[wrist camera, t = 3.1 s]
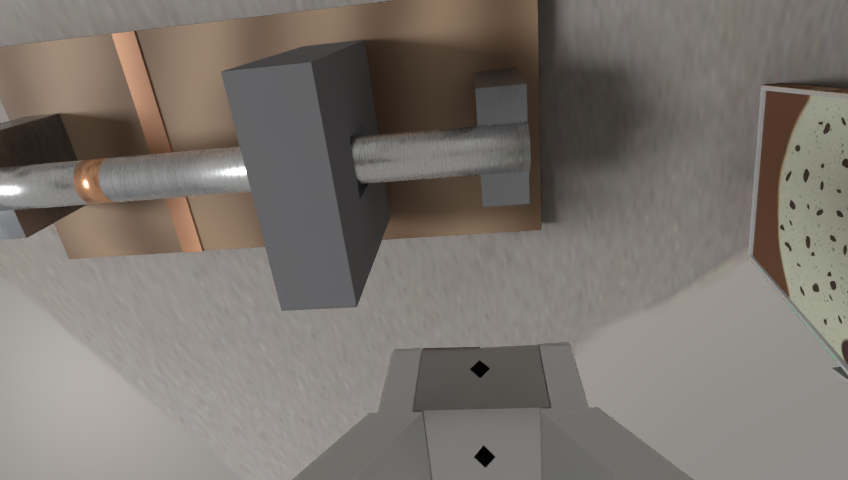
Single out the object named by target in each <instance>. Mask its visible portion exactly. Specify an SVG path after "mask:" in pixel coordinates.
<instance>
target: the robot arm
mask: <svg viewBox="0 0 848 480" xmlns="http://www.w3.org/2000/svg"><path fill="white" fill-rule="evenodd" d="M292 480H693V479H692V478H691V477H689V476H688V475H687V474H685V473H684V472H682V471H681V470H680V469H679V468H677V467H676V466H675V465H673V464H672V463H671V462H670V461H668V460H667V459H665V458H664V457H663V456H662V455H660V454H659V453H658V452H656V451H655V450H654V449H652V448H651V447H650V446H648V445H647V444H646V443H644V442H643V441H642V440H641V439H639V438H638V437H637V436H635V435H634V434H633V433H631V432H630V431H629V430H627V429H626V428H625V427H623V426H622V425H621V424H619V423H618V422H617V421H615V420H614V419H613V418H611V417H610V416H609V415H608V414H606V413H605V412H603V411H602V410H601V409H600V408H598V407H595V408H589V406H588V403H587V400H586V397H585V393H584V389H583V386H582V383H581V379H580V376H579V372H578V369H577V365H576V362H575V359H574V355H573V352H572V348H571V345H570V344H569V343H568V342H561V343H547V344H538V345H526V346H506V347H486V348H480V347H459V348H423V349H421V348H413V349H395V350H394V351H393V352H392V354H391V358H390V362H389V366H388V371H387V375H386V379H385V384H384V388H383V392H382V397H381V401H380V405H379V410H378V413H369V414H368V415H367V416H365V417H364V418H363V419H362V420H361V421H360V422H358V423H357V424H356V425H355V426H354V427H353V428H351V429H350V430H349V431H348V432H347V433H346V434H345V435H343V436H342V437H341V438H340V439H339V440H338V441H336V442H335V443H334V444H333V445H332V446H331V447H329V448H328V449H327V450H326V451H325V452H324V453H323V454H321V455H320V456H319V457H318V458H317V459H316V460H314V461H313V462H312V463H311V464H310V465H309V466H308V467H306V468H305V469H304V470H303V471H302V472H301V473H299V474H298V475H297V476H296V477H295V478H294V479H292Z"/></svg>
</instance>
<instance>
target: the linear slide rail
mask: <svg viewBox="0 0 848 480" xmlns="http://www.w3.org/2000/svg"><path fill="white" fill-rule="evenodd" d="M475 95H476V110H477V126H472V127H460V128H449V129H437V130H426V131H414V132H403V133H391V134H380V135H368V136H357V137H350V143H351V149H352V155H353V161H354V167H355V173H356V179H357V184H367V183H380V182H393V181H406V180H420V179H433V178H446V177H460V176H473V175H481V187H482V202H483V207H489V206H504V205H519V204H530V196H529V171H530V165H531V152H530V135H529V126H528V119H527V84H526V82H525V80H524V79H523V77H522V75H521V73H520V72H519V70H518V68H508V69H498V70H488V71H478V72H475ZM247 192H251V189H250V185H249V181H248V177H247V173H246V169H245V165H244V161H243V157H242V153H241V149H240V147H230V148H218V149H207V150H195V151H183V152H172V153H160V154H149V155H137V156H126V157H114V158H103V159H91V160H80V161H78V160H77V157H76V155H75V152H74V150H73V147H72V144H71V142H70V139H69V137H68V134H67V132H66V129H65V126H64V124H63V121H62V119H61V116H60V114H59V113H55V114H45V115H35V116H25V117H22V118H18V119H14V120H11V121H7V122H3V123H0V240H2V239H17V238H27V237H29V236H31V235H33V234H34V233H36V232H38V231H40V230H42V229H44V228H45V227H47V226H49V225H51V224H53V223H55V222H56V221H58V220H60V219H62V218H64V217H66V216H67V215H69V214H71V213H73V212H75V211H77V210H78V209H80V208H82V207H84V206H86V205H88V204H101V203H114V202H127V201H141V200H154V199H167V198H181V197H194V196H207V195H220V194H234V193H247Z"/></svg>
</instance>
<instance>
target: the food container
mask: <svg viewBox="0 0 848 480" xmlns="http://www.w3.org/2000/svg"><path fill="white" fill-rule="evenodd" d="M748 258H749V259H750V260H751V261H752V263H753V264H754V265H755V266H756V267H757V268H758V270H759V271H760V272H761V273H762V274H763V275H764V277H765V278H766V279H767V280H768V281H769V283H770V284H771V285H772V286H773V287H774V288H775V290H776V291H777V292H778V293H779V294H780V295H781V297H782V298H783V299H784V300H785V301H786V303H787V304H788V305H789V306H790V307H791V309H792V310H793V311H794V312H795V313H796V314H797V316H798V317H799V318H800V319H801V320H802V321H803V322H804V324H805V325H806V326H807V327H808V329H809V330H810V331H811V332H812V333H813V335H814V336H815V337H816V338H817V339H818V340H819V342H820V343H821V344H822V345H823V346H824V347H825V349H826V350H827V351H828V352H829V353H830V355H831V356H832V357H833V358H834V359H835V361H836V362H837V363H838V364H839V365H840V366H841V367H836V368H832V372H833V373H835V374H836V375H837V376H839V377H840V378H841V379H843V380H844V381H845V382H846V383H848V89H843V88H832V87H821V86H810V85H799V84H783V83H778V84H767V85H761V93H760V106H759V119H758V132H757V144H756V157H755V170H754V183H753V196H752V208H751V221H750V234H749V247H748Z"/></svg>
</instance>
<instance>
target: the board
mask: <svg viewBox="0 0 848 480" xmlns="http://www.w3.org/2000/svg"><path fill="white" fill-rule="evenodd" d="M356 40H365V44H366V51H367V58H368V65H369V72H370V79H371V86H372V93H373V100H374V107H375V114H376V121H377V128H378V135H380V134H391V133H403V132H414V131H426V130H437V129H449V128H460V127H472V126H477V110H476V95H475V72H478V71H488V70H498V69H508V68H518V70H519V72H520V73H521V75H522V77H523V79H524V80H525V82H526V84H527V119H528V126H529V135H530V152H531V165H530V171H529V196H530V204H519V205H504V206H489V207H483V202H482V187H481V175H473V176H460V177H446V178H433V179H420V180H406V181H393V182H385V183H386V190H387V197H388V204H389V211H390V220H389V222H388V225H387V228H386V230H385V233H384V236H383V238H382V240H384V239H400V238H416V237H432V236H449V235H465V234H481V233H497V232H513V231H530V230H541V175H540V114H539V54H538V0H395V1H386V2H378V3H369V4H361V5H352V6H344V7H335V8H327V9H318V10H310V11H301V12H293V13H284V14H276V15H267V16H259V17H250V18H242V19H234V20H225V21H217V22H208V23H200V24H191V25H183V26H174V27H166V28H157V29H149V30H140V31H132V32H123V33H115V34H106V35H98V36H89V37H81V38H73V39H64V40H56V41H47V42H39V43H30V44H22V45H13V46H5V47H0V99H1V101H2V104H3V106H4V108H5V111H6V113H7V115H8V118H9V120H10V121H11V120H14V119H18V118H22V117H25V116H35V115H45V114H55V113H59V114H60V116H61V119H62V121H63V124H64V126H65V129H66V132H67V134H68V137H69V139H70V142H71V144H72V147H73V150H74V152H75V155H76V157H77V160H78V161H80V160H91V159H103V158H114V157H126V156H137V155H149V154H160V153H172V152H183V151H195V150H207V149H218V148H230V147H240V145H239V142H238V138H237V134H236V130H235V126H234V122H233V118H232V114H231V110H230V106H229V102H228V98H227V95H226V91H225V87H224V83H223V79H222V75H221V71H225V70H228V69H231V68H234V67H238V66H241V65H244V64H247V63H251V62H254V61H257V60H260V59H264V58H267V57H270V56H273V55H276V54H280V53H283V52H286V51H289V50H293V49H296V48H299V47H302V46H310V45H319V44H328V43H338V42H347V41H356ZM54 225H55V227H56V229H57V232H58V234H59V236H60V239H61V241H62V243H63V246H64V248H65V250H66V253H67V255H68V257H69V259H76V258H92V257H108V256H124V255H141V254H157V253H173V252H200V251H205V250H222V249H238V248H254V247H265V243H264V239H263V236H262V232H261V228H260V224H259V220H258V216H257V212H256V208H255V204H254V200H253V196H252V192H247V193H234V194H220V195H207V196H194V197H181V198H167V199H154V200H141V201H127V202H114V203H101V204H88V205H86V206H84V207H82V208H80V209H78V210H77V211H75V212H73V213H71V214H69V215H67V216H66V217H64V218H62V219H60V220H58V221H56V222H55V223H54Z"/></svg>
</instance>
